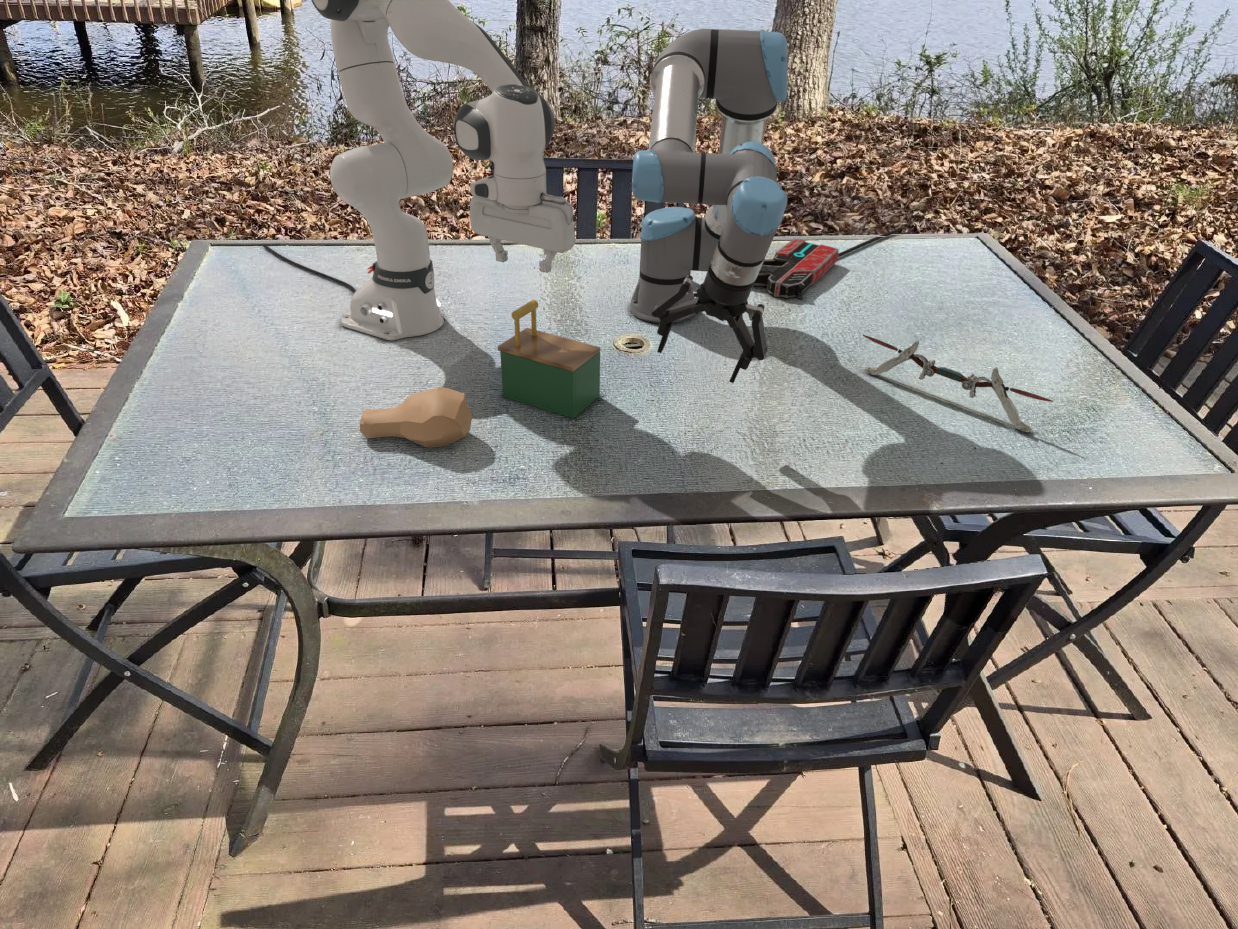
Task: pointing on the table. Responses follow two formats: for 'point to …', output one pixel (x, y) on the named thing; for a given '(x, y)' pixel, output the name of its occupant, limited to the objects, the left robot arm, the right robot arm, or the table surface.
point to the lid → (546, 344)
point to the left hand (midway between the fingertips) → (523, 266)
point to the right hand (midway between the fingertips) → (697, 362)
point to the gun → (796, 268)
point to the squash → (422, 418)
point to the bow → (967, 383)
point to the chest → (550, 384)
